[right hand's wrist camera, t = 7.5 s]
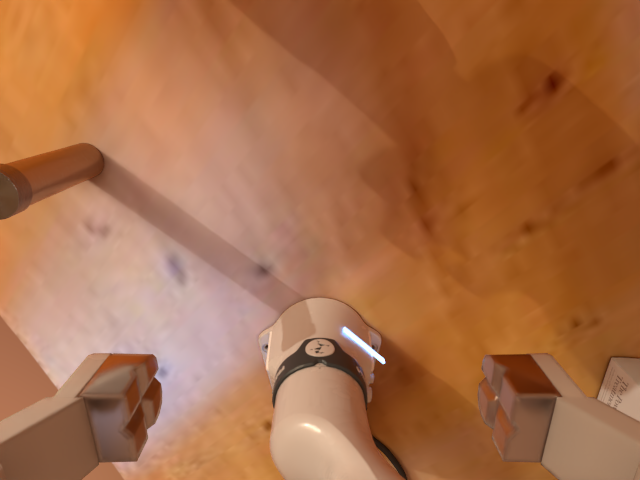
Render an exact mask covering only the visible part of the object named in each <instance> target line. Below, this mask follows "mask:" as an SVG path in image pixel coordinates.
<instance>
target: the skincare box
mask: <svg viewBox="0 0 640 480" xmlns="http://www.w3.org/2000/svg"><path fill="white" fill-rule="evenodd" d="M597 399H598V400H600V401H602V402H603V403H605V404H607V405H609V406H611V407H613V408H615V409H617V410H619V411H621V412H623V413H624V414H626V415H628V416H630V417H632V418H634V419H636V420H638V421H640V359H635V358H611V360H610V363H609V366H608V369H607V372H606V374H605V377H604V380H603V383H602V386H601V389H600V392H599V395H598V398H597Z"/></svg>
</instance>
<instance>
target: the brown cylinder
mask: <svg viewBox="0 0 640 480" xmlns="http://www.w3.org/2000/svg"><path fill="white" fill-rule="evenodd" d="M6 165H10V166H12V167H14V168H16V169H18V170H19V171H20V172H22V173H23V174H24V175H25V177H26V178H27V179H28V181H29V183H30V185H31V187H32V192H33V197H32V201H31V203H30V205H32V204H34V203H36V202H39V201H41V200H43V199H45V198H48V197H50V196H52V195H54V194H57V193H59V192H61V191H63V190H66V189H68V188H70V187H73V186H75V185H77V184H79V183H82V182H84V181H86V180H88V179H91V178H93V177H95V176H97V175H99V174H100V173H101V172H102V170H103V167H104V160H103V157H102V154H101V153H100V152H99V150H98V149H97V148H95V147H94V146H92V145H90V144H87V143H80V144H76V145H72V146H69V147H65V148H61V149H58V150H54V151H51V152H47V153H43V154H40V155H36V156H32V157H29V158H25V159H22V160H18V161H14V162H11V163H7V164H6Z"/></svg>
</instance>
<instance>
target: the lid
mask: <svg viewBox="0 0 640 480" xmlns="http://www.w3.org/2000/svg"><path fill="white" fill-rule="evenodd" d="M32 197H33V192H32V187H31V185H30V183H29V181H28V179H27V178H26V177H25V175H24V174H23V173H22V172H20V171H19V170H18V169H16V168H14V167H12V166H10V165H6V164H0V220H1V219H6V218H9V217H11V216H13V215H15V214H18V213H20V212H22V211H24V210H25V209H27V208H28V207H29V205H30V203H31V201H32Z"/></svg>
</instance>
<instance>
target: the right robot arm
mask: <svg viewBox="0 0 640 480" xmlns="http://www.w3.org/2000/svg"><path fill="white" fill-rule="evenodd" d="M266 345H268V347H267V346H266ZM372 345H374V346H373V347H372ZM259 346H260V349H261V353H262V356H263V360H264V363H265V366H266V370H267V373H268V377H269V380H270V384H271V387H272V394H273V397H272V402H273V407H274V414H273V422H272V429H271V436H270V452H271V456H272V459H273V462H274V464H275V466H276V467H277V469H278V471H279V472H280V474H281V475H282V477H283V478H284V479H285V480H407V478H406V475H405V472H404V470H403V469H402V467H401V465H400V464H399V463H398V461H397V460H396V458H395V457H394V456H393V454H392V453H391V452H390V451H389V450H388V449H387V448H386V447H385V446H384V445H383V444H382V443H380V442H379V441H378V440H377V439H375V438H374V437H373V436H372V434H371V431H370V427H369V423H368V418H367V413H366V410H367V403H369V402H371V399H372V387H369V384H373V382H374V374H372V373H373V370H374V366H375V363H376V360H377V359H378V360H379V361H380V362H382V363H383V364H384V363H385V360H384V358H382V357H381V356H380V355H379V354H378V353H379V349H380V346H381V335H380V334H379V333H378V332H377V331H376V330H374V329H372V328H371V327H369V326H367V325H366V324H365V323H364V322H363V320H362V319H361V317H360V316H359V315H358V314H357V313H356V311H354V310H353V309H352V308H351V307H349V306H348V305H346V304H344V303H342V302H340V301H337V300H334V299H329V298H311V299H306V300H303V301H300V302H298V303H296V304H294V305H292V306H291V307H289V308H288V309H287V310H286V311H285V312H284V313H283V314H282V315H281V316H280V317H279V319H278V320H277V322H276V323H275V324H274V325H273V326H271V327H269V328H268V329H266V330H264V331H263V332H262V333H261V334H260V335H259ZM157 371H158V364H157V359H156V357H155V356H154V355H153V354H111V353H94V354H91V355H88V356H87V357H86V359H85V360H84V361H83V362H82V363H81V365H80V366H79V367H78V368H77V369H76V370H75V372H74V373H73V374H72V375H71V376H70V378H69V379H68V380H67V381H66V382H65V384H64V385H63V386H62V387H61V388H60V389H59V391H58V392H57V393H56V394H55V395H54V397H46V398H44V399H42V400H40V401H38V402H36V403H35V404H33V405H31V406H29V407H27V408H25V409H23V410H21V411H19V412H17V413H16V414H14V415H12V416H10V417H8V418H6V419H4V420H2V421H0V480H82V479H83V478H84V477H85V476H86V475H87V474H89V473H90V472H91V471H92V470H93V469H94V468H96V467H97V466H98V465H99V462H132V461H137V460H138V458H139V456H140V454H141V452H142V450H143V448H144V446H145V443H146V441H147V439H148V435H147V429H148V428H149V427H151V426H152V425H154V424H155V423H156V420H157V418H158V416H159V413H160V409H161V404H162V388H161V383H160V382H159V381H158V380H157V379H156V378H155V377H154V376H155V374H156V372H157ZM482 371H483V372H484V374H485V376H486V377H485V378H484V379H483V380H482V381H481V382H480V383H479V389H478V404H479V409H480V413H481V416H482V418H483V420H484V423H485V424H486V425H488V426H489V427H491V428H492V429H493V435H492V439H493V441H494V443H495V446H496V448H497V450H498V452H499V454H500V456H501V458H502V460H503V461H507V462H541V465H542V466H543V467H545V468H546V469H547V470H548V471H549V472H550V473H552V474H553V475H554V476H555V477H556V478H557V479H559V480H640V421H638V420H636V419H634V418H632V417H630V416H628V415H626V414H624V413H623V412H621V411H619V410H617V409H615V408H613V407H611V406H609V405H607V404H605V403H603V402H602V401H600V400H598V399H596V398H594V397H586V395H585V394H584V393H583V392H582V391H581V389H580V388H579V387H578V386H577V385H576V384H575V382H574V381H573V380H572V379H571V378H570V376H569V375H568V374H567V373H566V372H565V371H564V369H563V368H562V367H561V366H560V365H559V363H558V362H557V361H556V360H555V359H554V358H553V356H552V355H550V354H548V353H536V354H513V355H485V357H484V359H483V363H482ZM377 448H378V449H380V450H381V451H382V452H383V453H384V454H385V455H386V456H387V457H388V459H389V460H390V461H391V463H392V464H393V465H394V467H395V468H396V469H397V471H398V472H397V471H396V470H394V469H393V467H392V466H391V465H390V464H389V463H388V462H387V461H386V460H385V458H384V457H383V456H382V454H381V453H380V452H379V450H378V449H377Z"/></svg>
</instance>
